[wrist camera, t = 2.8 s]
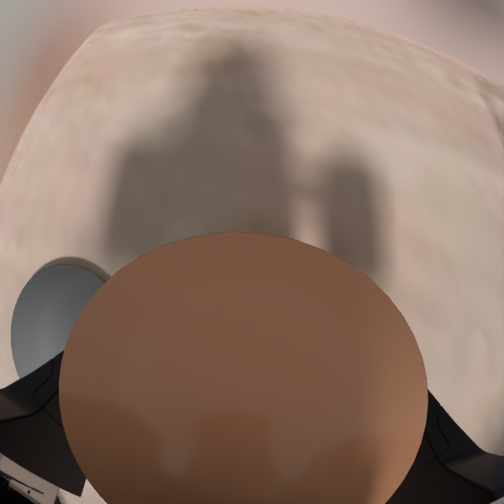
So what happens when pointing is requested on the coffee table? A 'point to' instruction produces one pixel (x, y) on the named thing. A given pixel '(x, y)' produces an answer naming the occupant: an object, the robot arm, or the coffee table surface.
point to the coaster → (49, 313)
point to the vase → (242, 378)
